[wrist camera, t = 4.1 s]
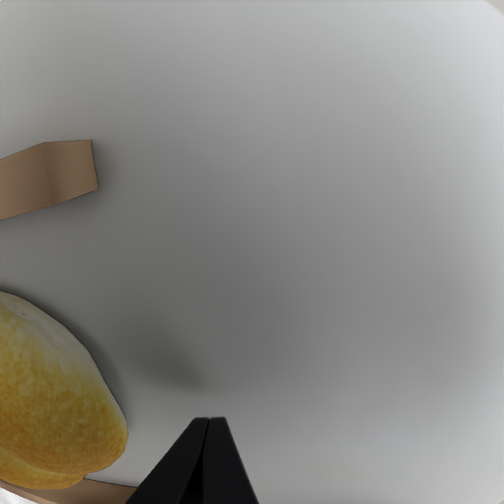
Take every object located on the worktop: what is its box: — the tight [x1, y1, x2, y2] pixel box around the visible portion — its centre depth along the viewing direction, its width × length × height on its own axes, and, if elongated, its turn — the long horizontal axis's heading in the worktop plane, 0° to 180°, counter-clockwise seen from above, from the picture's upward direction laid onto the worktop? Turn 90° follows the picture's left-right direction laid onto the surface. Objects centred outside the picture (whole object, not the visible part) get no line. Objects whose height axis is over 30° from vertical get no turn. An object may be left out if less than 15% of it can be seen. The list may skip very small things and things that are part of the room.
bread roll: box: [0, 291, 128, 489], centre depth 7 cm, size 8×9×4 cm
